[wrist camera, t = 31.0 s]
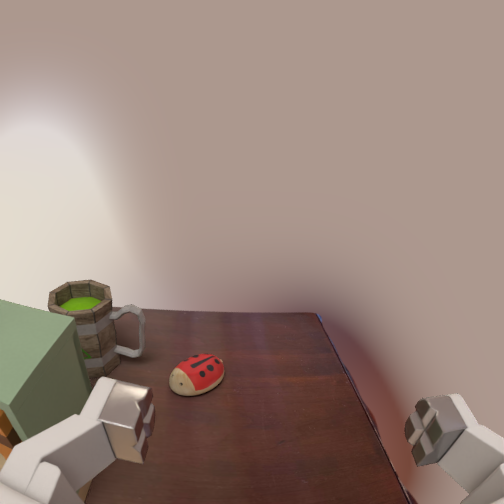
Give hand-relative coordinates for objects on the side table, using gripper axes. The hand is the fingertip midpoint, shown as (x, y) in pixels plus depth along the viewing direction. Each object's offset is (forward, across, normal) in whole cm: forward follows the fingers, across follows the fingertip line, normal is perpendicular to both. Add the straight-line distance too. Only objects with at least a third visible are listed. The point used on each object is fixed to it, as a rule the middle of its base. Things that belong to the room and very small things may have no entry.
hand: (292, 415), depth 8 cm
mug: (+31, +23, +29) cm, 48 cm away
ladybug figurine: (+30, +7, +29) cm, 42 cm away
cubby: (+10, +24, +29) cm, 39 cm away
